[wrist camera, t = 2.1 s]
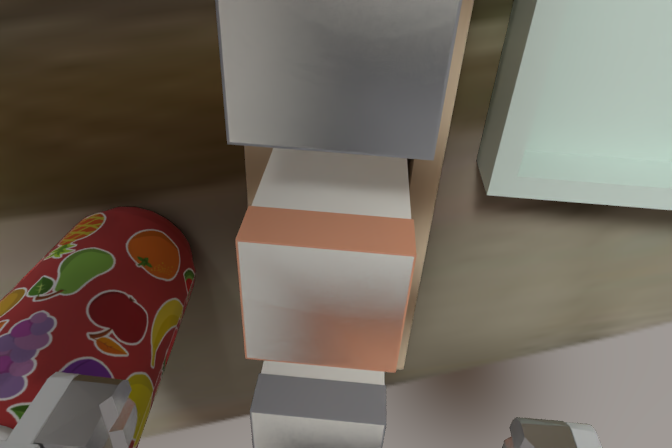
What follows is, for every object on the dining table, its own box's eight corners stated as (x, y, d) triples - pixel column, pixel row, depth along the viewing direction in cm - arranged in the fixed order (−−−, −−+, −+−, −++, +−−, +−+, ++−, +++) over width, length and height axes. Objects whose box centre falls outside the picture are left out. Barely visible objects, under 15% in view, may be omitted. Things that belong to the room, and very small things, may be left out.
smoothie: (93, 299, 31) (-222, 776, 15) (43, 181, 26) (-495, 696, 10) (227, 304, 31) (50, 808, 14) (202, 184, 26) (-107, 738, 10)
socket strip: (264, -198, 17) (221, -218, 12) (478, -187, 17) (512, -201, 12) (276, 279, 29) (257, 356, 25) (400, 290, 29) (403, 369, 24)
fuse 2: (299, 207, 24) (249, 411, 15) (385, 215, 24) (386, 424, 15) (298, 273, 27) (255, 481, 18) (377, 280, 27) (373, 494, 18)
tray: (552, -163, 17) (580, -166, 14) (867, -145, 17) (950, -145, 14) (476, 160, 24) (486, 195, 21) (696, 178, 24) (732, 215, 21)
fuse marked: (300, 73, 21) (235, 239, 12) (402, 81, 20) (416, 255, 12) (299, 163, 23) (245, 358, 14) (391, 170, 23) (395, 372, 14)
